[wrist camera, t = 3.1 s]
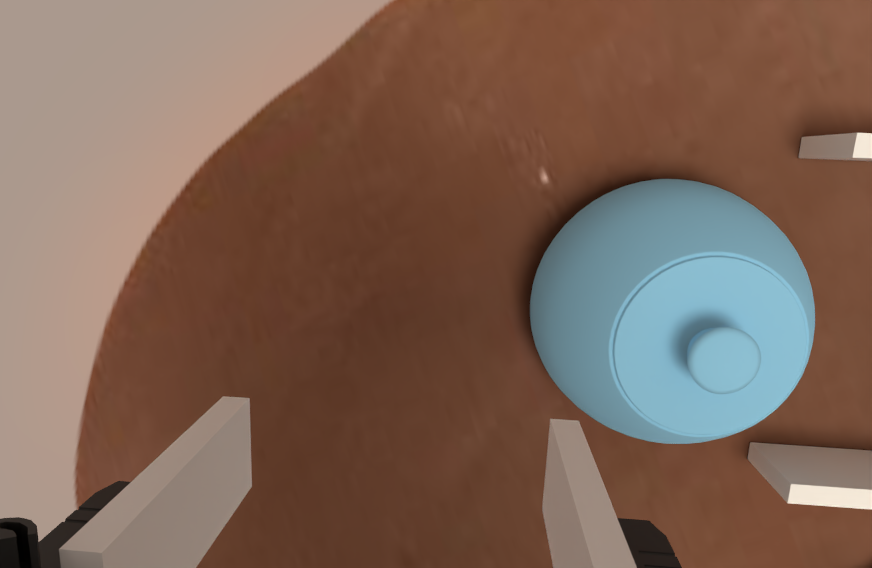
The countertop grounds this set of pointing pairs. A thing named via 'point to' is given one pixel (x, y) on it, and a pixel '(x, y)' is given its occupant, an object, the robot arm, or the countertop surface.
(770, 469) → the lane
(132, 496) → the robot arm
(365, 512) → the countertop surface
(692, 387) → the sugar bowl
